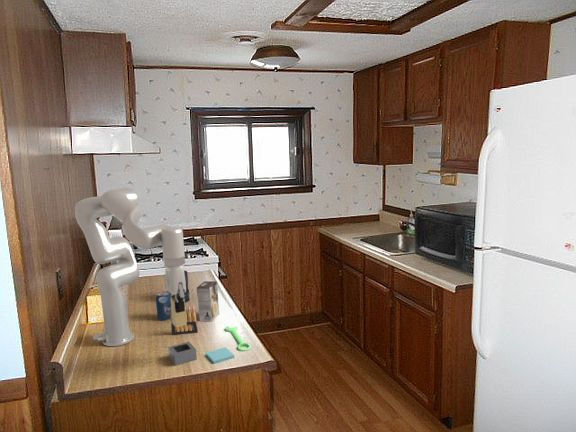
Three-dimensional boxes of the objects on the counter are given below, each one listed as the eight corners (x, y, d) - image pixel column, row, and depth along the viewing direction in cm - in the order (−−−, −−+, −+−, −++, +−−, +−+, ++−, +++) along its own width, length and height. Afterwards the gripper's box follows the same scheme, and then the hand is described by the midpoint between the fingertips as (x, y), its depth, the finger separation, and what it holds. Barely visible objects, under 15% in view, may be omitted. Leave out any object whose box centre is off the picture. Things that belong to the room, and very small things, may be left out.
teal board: (214, 363, 162) (213, 361, 162) (206, 355, 169) (205, 352, 169) (234, 357, 166) (234, 355, 166) (225, 349, 173) (225, 347, 173)
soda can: (168, 321, 204) (166, 296, 202) (154, 320, 205) (152, 295, 203) (175, 315, 210) (173, 291, 208) (162, 315, 212) (159, 290, 210)
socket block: (175, 365, 162) (174, 355, 161) (169, 357, 169) (168, 347, 168) (196, 359, 166) (195, 349, 165) (189, 351, 173) (188, 341, 172)
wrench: (235, 328, 195) (223, 330, 193) (235, 324, 195) (223, 326, 193) (252, 350, 172) (239, 353, 170) (252, 345, 172) (239, 348, 170)
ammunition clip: (171, 335, 188) (169, 308, 187) (172, 333, 190) (169, 306, 188) (197, 332, 190) (195, 305, 188) (197, 331, 192) (195, 304, 190)
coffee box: (206, 313, 211) (204, 280, 209) (219, 314, 210) (217, 281, 207) (199, 321, 202) (196, 287, 200) (212, 321, 201) (209, 287, 198)
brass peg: (176, 327, 163) (173, 301, 161) (172, 324, 166) (170, 298, 164) (186, 324, 165) (184, 298, 163) (183, 321, 168) (181, 295, 166)
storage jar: (166, 303, 227) (163, 275, 224) (175, 297, 236) (173, 269, 234) (184, 304, 224) (182, 275, 222) (193, 298, 234) (190, 270, 231)
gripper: (157, 258, 167) (161, 305, 170) (170, 268, 152) (175, 319, 155) (177, 255, 170) (181, 301, 173) (192, 264, 156) (196, 314, 159)
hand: (178, 309), depth 164 cm, fingers closed on brass peg, 4 cm apart
